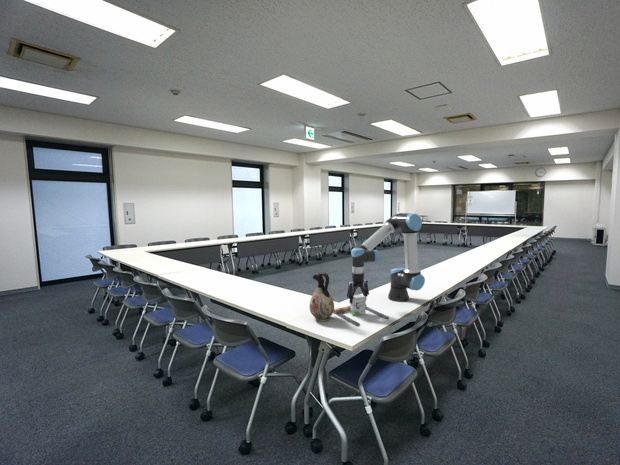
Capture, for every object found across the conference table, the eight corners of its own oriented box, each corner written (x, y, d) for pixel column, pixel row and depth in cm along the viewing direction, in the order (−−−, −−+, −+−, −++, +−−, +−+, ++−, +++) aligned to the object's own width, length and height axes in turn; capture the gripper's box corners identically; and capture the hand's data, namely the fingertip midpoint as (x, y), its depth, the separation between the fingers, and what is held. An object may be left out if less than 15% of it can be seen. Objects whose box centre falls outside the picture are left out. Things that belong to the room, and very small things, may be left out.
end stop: (363, 306, 207) (363, 303, 207) (366, 308, 205) (366, 304, 205) (333, 313, 196) (333, 309, 196) (335, 314, 193) (335, 310, 193)
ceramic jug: (304, 319, 186) (303, 271, 183) (321, 312, 197) (321, 268, 194) (324, 326, 174) (324, 276, 171) (341, 319, 184) (341, 271, 182)
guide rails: (366, 308, 205) (366, 306, 205) (388, 318, 185) (388, 316, 185) (335, 314, 193) (335, 312, 193) (356, 326, 174) (356, 324, 174)
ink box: (361, 311, 197) (361, 293, 196) (365, 313, 192) (365, 296, 191) (350, 313, 193) (350, 295, 192) (354, 316, 189) (354, 297, 188)
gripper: (367, 269, 199) (367, 302, 201) (340, 273, 189) (341, 308, 191) (374, 271, 192) (374, 305, 194) (347, 275, 182) (347, 311, 184)
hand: (358, 306), depth 192 cm, fingers closed on ink box, 9 cm apart
